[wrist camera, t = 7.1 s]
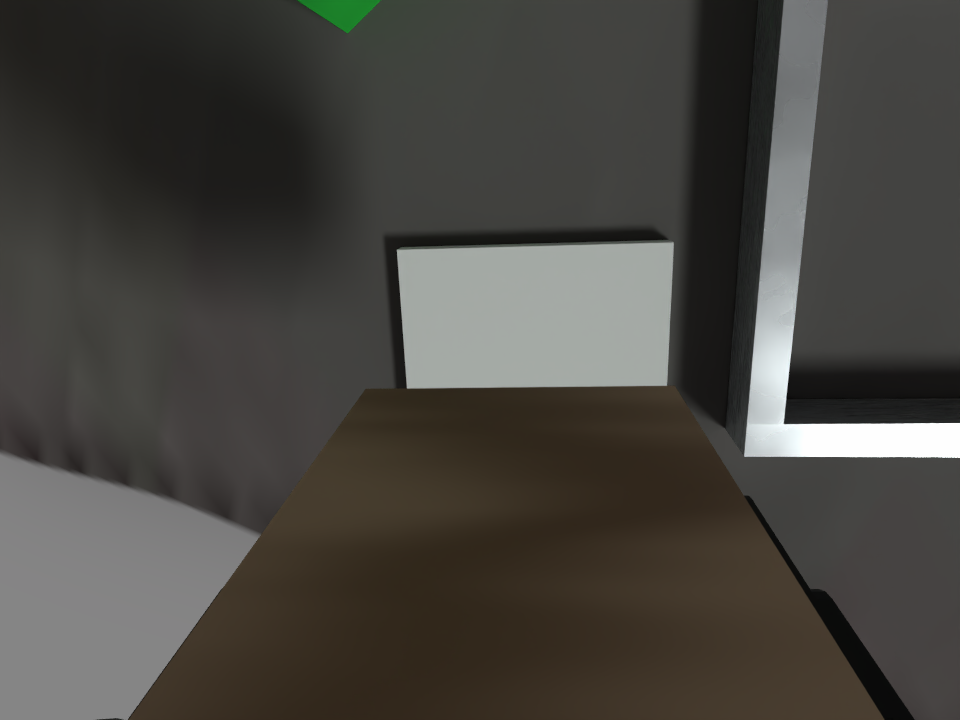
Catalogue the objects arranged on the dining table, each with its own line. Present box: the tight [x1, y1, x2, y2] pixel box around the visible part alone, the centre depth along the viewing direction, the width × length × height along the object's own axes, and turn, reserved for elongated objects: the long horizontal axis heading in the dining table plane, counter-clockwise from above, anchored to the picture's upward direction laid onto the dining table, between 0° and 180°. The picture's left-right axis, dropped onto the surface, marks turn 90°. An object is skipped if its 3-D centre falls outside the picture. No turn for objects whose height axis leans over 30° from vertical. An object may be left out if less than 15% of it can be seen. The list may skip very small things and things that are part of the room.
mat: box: [397, 240, 674, 388], centre depth 20 cm, size 8×7×1 cm
